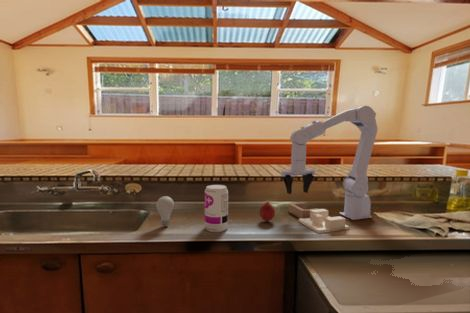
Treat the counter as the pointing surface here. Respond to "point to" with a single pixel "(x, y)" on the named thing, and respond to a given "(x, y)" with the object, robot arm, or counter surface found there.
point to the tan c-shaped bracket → (300, 210)
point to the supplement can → (216, 208)
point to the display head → (324, 221)
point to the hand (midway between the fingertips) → (297, 192)
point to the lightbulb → (165, 209)
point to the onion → (267, 211)
